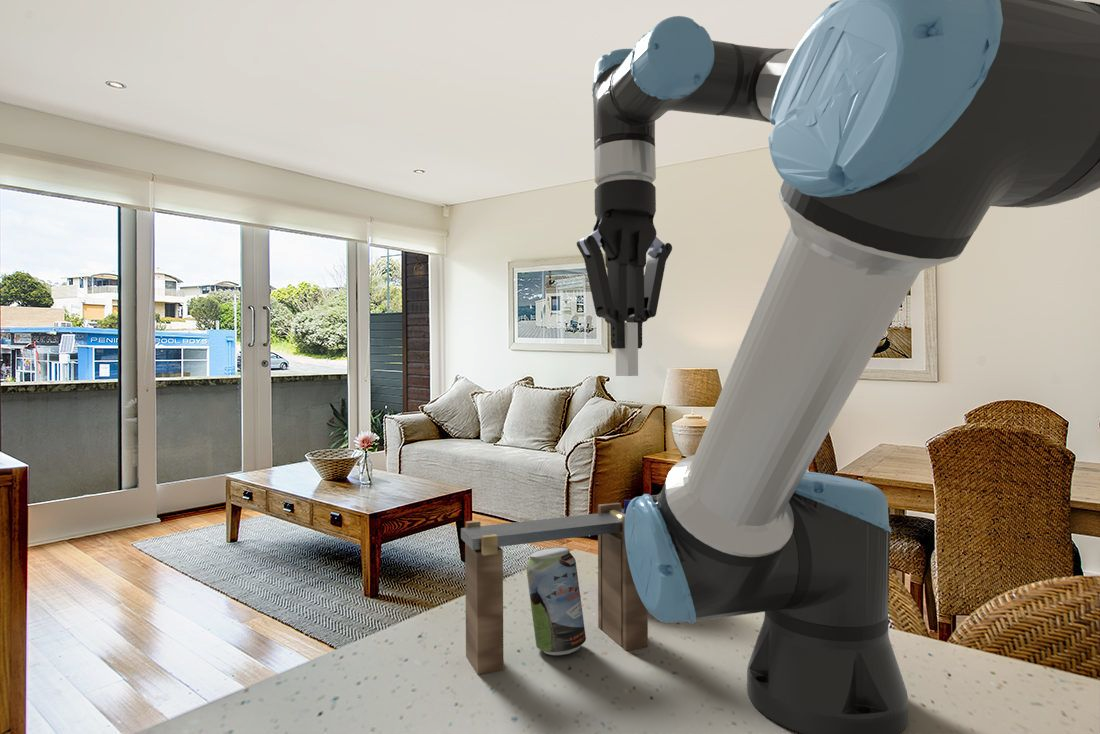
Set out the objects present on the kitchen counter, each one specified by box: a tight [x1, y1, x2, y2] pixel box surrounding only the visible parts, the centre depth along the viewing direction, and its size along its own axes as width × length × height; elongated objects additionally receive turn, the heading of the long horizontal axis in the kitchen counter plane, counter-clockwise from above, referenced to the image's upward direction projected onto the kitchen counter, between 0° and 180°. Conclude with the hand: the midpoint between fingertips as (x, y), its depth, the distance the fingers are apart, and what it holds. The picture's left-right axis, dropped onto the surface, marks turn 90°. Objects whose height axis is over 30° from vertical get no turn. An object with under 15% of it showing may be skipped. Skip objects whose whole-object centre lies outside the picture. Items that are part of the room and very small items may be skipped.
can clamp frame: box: [464, 502, 649, 676], centre depth 80 cm, size 21×7×16 cm, turn 112°
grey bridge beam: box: [460, 510, 625, 550], centre depth 79 cm, size 21×5×2 cm, turn 112°
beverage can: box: [525, 546, 587, 656], centre depth 80 cm, size 6×7×12 cm
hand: (626, 375), depth 82 cm, fingers closed
